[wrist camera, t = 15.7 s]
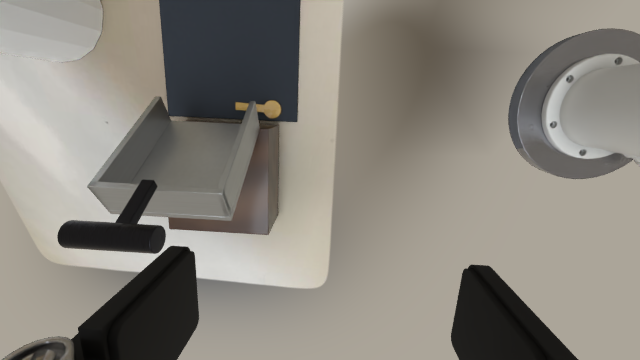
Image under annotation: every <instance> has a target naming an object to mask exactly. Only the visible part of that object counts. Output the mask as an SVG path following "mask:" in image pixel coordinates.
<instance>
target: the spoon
mask: <svg viewBox="0 0 640 360" xmlns="http://www.w3.org/2000/svg"><path fill="white" fill-rule="evenodd" d="M248 105H249V103H240V102H236V110H244V111H246V110H247V108H248ZM256 109H257V112H264V113H265V115H266V116H267V117H269V118H277V117H278V116H279V115H280V114H281V106H280V104H279V103H278V102H277V101H274V100H270V101H267V102H266V103H265V105H261V104H256Z"/></svg>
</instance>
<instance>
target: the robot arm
mask: <svg viewBox="0 0 640 360" xmlns="http://www.w3.org/2000/svg"><path fill="white" fill-rule="evenodd" d="M541 116H542V127H543V130H544V134H545V135H546V137H547V139H548V141H549V142H550V143H551V144H552V146H553V147H554V148H556V149H557V150H558V151H560V152H561V153H564V154H566V155H568V156H572V157H576V158H582V159H595V158H601V157H605V156H608V155H611V154H613V153H621V154H623V155H624V156H625V157H628V158H633V159H634V161H635V162H636V163H637V164H638V165H639V166H640V62H638V61H637V60H635V59H633V58H631V57H629V56H626V55H621V54H603V55H596V56H593V57H589V58H586V59H583V60H581V61H579V62H577V63H575V64H574V65H572V66H571V67H569V68H568V69H566V70H565V71H564V72H563V73H562V74H561V75H560V76H559V77H558V78H557V79H556V81H555V82H554V83H553V84H552V86H551V88H550V89H549V91H548V93H547V95H546V98H545V100H544V103H543V108H542V114H541ZM198 320H199V311H198V298H197V282H196V267H195V255H194V252H193V251H190V249H189V248H188V247H180V246H170V247H169V248H168V249H166V250H165V251H164V252H163V253H162V254H161V255H160V256H159V257H157V258H156V259H155V260H154V261H153V262H152V263H151V264H149V265H148V266H147V267H146V268H145V269H144V270H143V271H142V272H140V273H139V274H138V275H137V276H136V277H135V278H134V279H133V280H131V282H129V283H128V284H127V285H126V286H125V287H124V288H122V289H121V290H120V291H119V292H118V293H117V294H116V295H114V296H113V297H112V298H111V299H110V300H109V301H108V302H107V303H105V304H104V305H103V306H102V307H101V308H100V309H99V310H98V311H96V312H95V313H94V314H93V315H92V316H91V317H90V318H89V319H88V320H86V321H85V322H84V323H83V324H82V325H81V326H79V327H78V331H79V333H78V334H77V335H76V336H75V337H74V338H72V339H71V340H70V339H68V338H66V337H59V336H58V337H48V338H44V339H41V340H37V341H34V342H32V343H29V344H27V345H24V346H23V347H21V348H19V349H17V350H15V351H13V352H12V353H10V354H9V355H7V356H6V357H5V358H3V359H2V360H177V359H178V357H179V355H180V354H181V352H182V350H183V349H184V347H185V345H186V344H187V342H188V341H189V339H190V337H191V336H192V334H193V332H194V331H195V329H196V327H197V324H198ZM451 341H452V345H453V347H454V350H455V352H456V354H457V356H458V358H459V360H578V359H577V358H576V357H575V356H574V355H573V354H572V353H571V352H570V351H569V350H568V348H566V346H565V345H564V344H563V343H562V342H561V341H560V340H559V339H558V338H557V337H556V336H555V335H554V334H553V333H552V332H551V331H550V329H549V328H548V327H547V326H546V325H545V324H544V323H543V322H542V321H541V320H540V319H539V318H538V317H537V316H536V315H535V314H534V313H533V311H532V310H531V309H530V308H529V307H528V306H527V305H526V304H525V303H524V302H523V301H522V300H521V299H520V298H519V297H518V296H517V295H516V293H515V292H514V291H513V290H512V289H511V288H510V287H509V286H508V285H507V284H506V283H505V282H504V281H503V280H502V279H501V278H500V276H498V274H497V273H496V272H495V271H494V270H493V269H492V268H491V267H490V266H483V265H470V266H469V267H468V269H464V271H463V273H462V279H461V284H460V290H459V295H458V300H457V306H456V311H455V316H454V322H453V327H452V333H451Z"/></svg>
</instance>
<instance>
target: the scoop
mask: <svg viewBox="0 0 640 360" xmlns="http://www.w3.org/2000/svg"><path fill="white" fill-rule="evenodd" d="M259 130H260V126H259V120H258V114H257V109H256V103H255V101H250V102H249V105H248V108H247V110H246V113H245V116H244V118H243V121H242V123H241V124H230V123H210V122H189V121H171V119H170V117H169V115H168V112H167V110H166V108H165V106H164V103H163V101H162V99H161V97H155V98H154V99H153V101H152V102H151V103H150V105H149V106H148V107H147V108H146V110H145V111H144V112H143V114H142V115H141V116H140V118H139V119H138V120H137V122H136V123H135V124H134V126H133V127H132V128H131V129H130V131H129V132H128V133H127V135H126V136H125V137H124V139H123V140H122V141H121V143H120V144H119V145H118V147H117V148H116V149H115V150H114V152H113V153H112V154H111V156H110V157H109V158H108V160H107V161H106V162H105V164H104V165H103V166H102V168H101V169H100V170H99V171H98V173H97V174H96V175H95V177H94V178H93V179H92V181H91V182H90V183H89V184H88V186H87V187H88V188H89V189H90V190H91V192H92V193H93V194H94V195H95V196H96V197H97V199H98V200H99V201H100V202H101V203H102V204H103V205H104V207H105V208H106V209H107V210H108V211H109V212H110V213H111V214H120V216H119V217H118V219H117V221H116V222H115V223H109V222H92V221H76V220H71V221H68V222H66V223H64V224H63V225H62V226H61V228H60V230H59V232H58V242H59V244H60V245H61V246H62V247H64V248H75V249H91V250H107V251H123V252H138V253H154V254H156V253H158V252H160V251H161V249H162V248H163V246H164V243H165V237H166V234H165V230H164V228H163V227H162V226H159V225H142V224H137V223H138V221H139V219H140V218H141V216H158V217H175V218H192V219H209V220H225V221H231V220H232V217H233V214H234V211H235V208H236V204H237V201H238V198H239V195H240V192H241V188H242V185H243V182H244V179H245V175H246V172H247V169H248V166H249V162H250V159H251V156H252V153H253V150H254V146H255V143H256V140H257V137H258V133H259Z"/></svg>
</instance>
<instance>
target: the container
mask: <svg viewBox="0 0 640 360" xmlns="http://www.w3.org/2000/svg"><path fill="white" fill-rule="evenodd" d="M102 22H103V9H102V5H101V2H100V0H0V54H5V55H12V56H19V57H26V58H33V59H40V60H47V61H54V62H61V63H63V62H68V61H74V60H80V59H81V58H82V57H84V56H85V55H86V54H88V53H89V52H90V51H91V50H93V49H94V47H95V45H96V43H97V41H98V39H99V37H100V35H101V33H102Z"/></svg>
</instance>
